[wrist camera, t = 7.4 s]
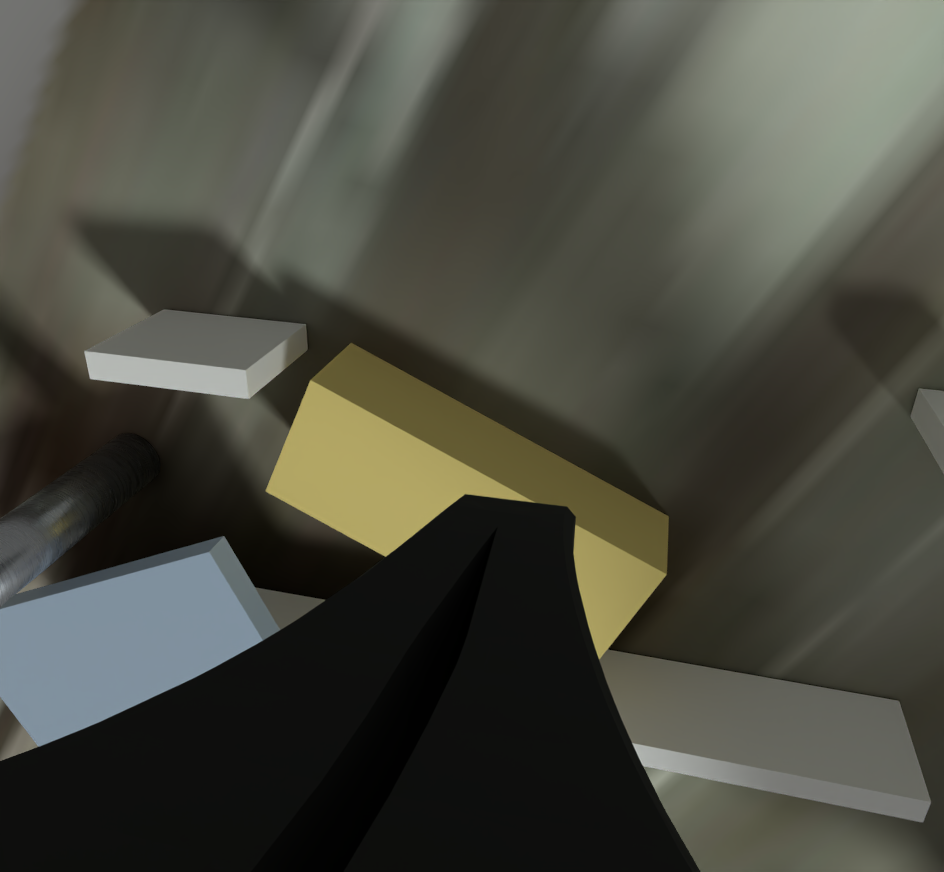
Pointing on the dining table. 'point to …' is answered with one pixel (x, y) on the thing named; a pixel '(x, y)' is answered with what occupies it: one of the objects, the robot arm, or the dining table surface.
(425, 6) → the dining table surface
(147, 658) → the duct cover
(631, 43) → the dining table surface
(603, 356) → the dining table surface
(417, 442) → the khaki rectangular brick
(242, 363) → the grey flat pieces
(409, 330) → the dining table surface
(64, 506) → the pin
